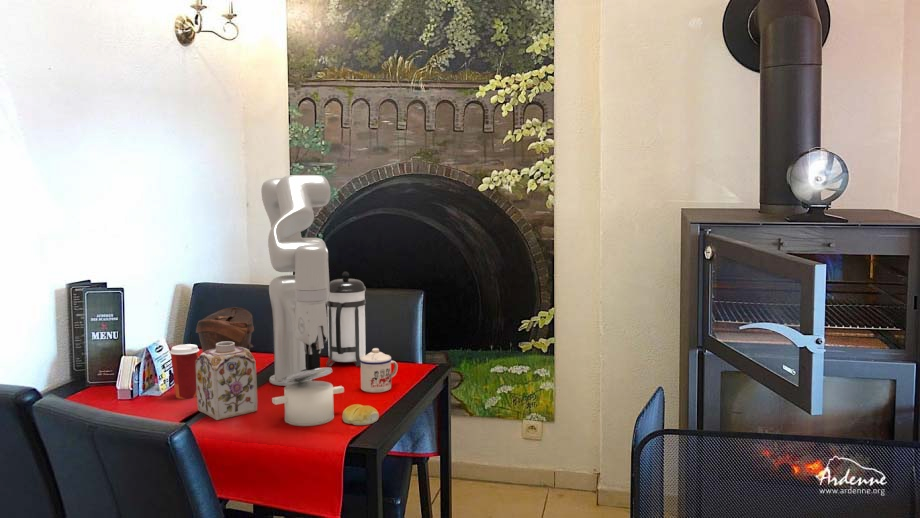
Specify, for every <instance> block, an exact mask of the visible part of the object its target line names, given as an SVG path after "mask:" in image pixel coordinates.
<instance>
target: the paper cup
mask: <svg viewBox="0 0 920 518" xmlns="http://www.w3.org/2000/svg"><path fill="white" fill-rule="evenodd" d="M199 352H200V349H199V348H198V345H197V344H191V343H187V344H185V343H184V344H177V345H174V346H172V347H171V349H170V351H169V354H170V357H171V365H172V366H171V367H172V375H173V383H174V385H173V386H174V394H175V398H176V399H178V400H188V399H189V400H190V399H193V398H197V390H196V362H195V361H196V360H197V358H198V357H199Z"/></svg>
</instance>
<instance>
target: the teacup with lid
mask: <svg viewBox="0 0 920 518" xmlns="http://www.w3.org/2000/svg"><path fill="white" fill-rule="evenodd" d="M360 362H361V366H360V389H361V391H363V392H365V393H372V394H373V393H374V394H375V393H376V394H377V393H378V394H379V393H384V392H387V391H389V390H391V389H392V379H393V378H394V377H395V376H396V375H397V372H398V367H399V366H398V363H397V362H396V361H395V360H392V356H391V355H390V354H385V353H384V352H382V351H380V349H379V348H378V347H374V348H372V349H371V351H370V352H368V353H366V355H364V356H362V357H361V358H360ZM392 364H393V367H394V368H393V371H392Z"/></svg>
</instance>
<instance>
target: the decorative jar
mask: <svg viewBox="0 0 920 518" xmlns="http://www.w3.org/2000/svg"><path fill="white" fill-rule="evenodd" d="M195 362H196V390H197V396H196V402H197V403H196V404H197V410H198V411H199V412H200V413H202V414H205V415H207V416H209V417H210V418H212V419H214V420H216V421H220V420H224V419H228V418H232V417H233V418H234V417H238V416H241V415H247V414H250V413H255V412H257V411H258V383H257V382H258V381H257V378H258V377H257V366H256V360H255V358H254V355H253V354H252V352H251V351H249V350H248V349H246V348H242V347H235V343H234V342H229V341H225V342H219V343H216V348H214V349H210V350H206V351H204V352H203V351H202V353H200V355H198V358H197V360H196V361H195Z"/></svg>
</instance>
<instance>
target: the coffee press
mask: <svg viewBox="0 0 920 518" xmlns="http://www.w3.org/2000/svg"><path fill="white" fill-rule="evenodd" d="M341 276H342V278H337V279H333V280H331V281H329V285H330V296H329V300H328V302H327V303H326V306H327V307H326V312H327V326H328V338H327V342H328V343H327V344H328V345H327V347H328V360H327V361H326V367H327V366H328V367H330V368H332V367H333V365H334V364H335V363H353V364H354V365H355V367H356V368H358V367H360V368H361V362H360V358H361V357H362V356H364V355H367V353H366V352H367V351H366V303H367V302H366V298H365V295H366V293H365V292H366V290H367V288H366V286H365V284H364V282H363V281H361V280H360V279H357V278H356V279H355V278H349V277H350V273H349V272H348V271H343V272H342V274H341Z"/></svg>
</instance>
